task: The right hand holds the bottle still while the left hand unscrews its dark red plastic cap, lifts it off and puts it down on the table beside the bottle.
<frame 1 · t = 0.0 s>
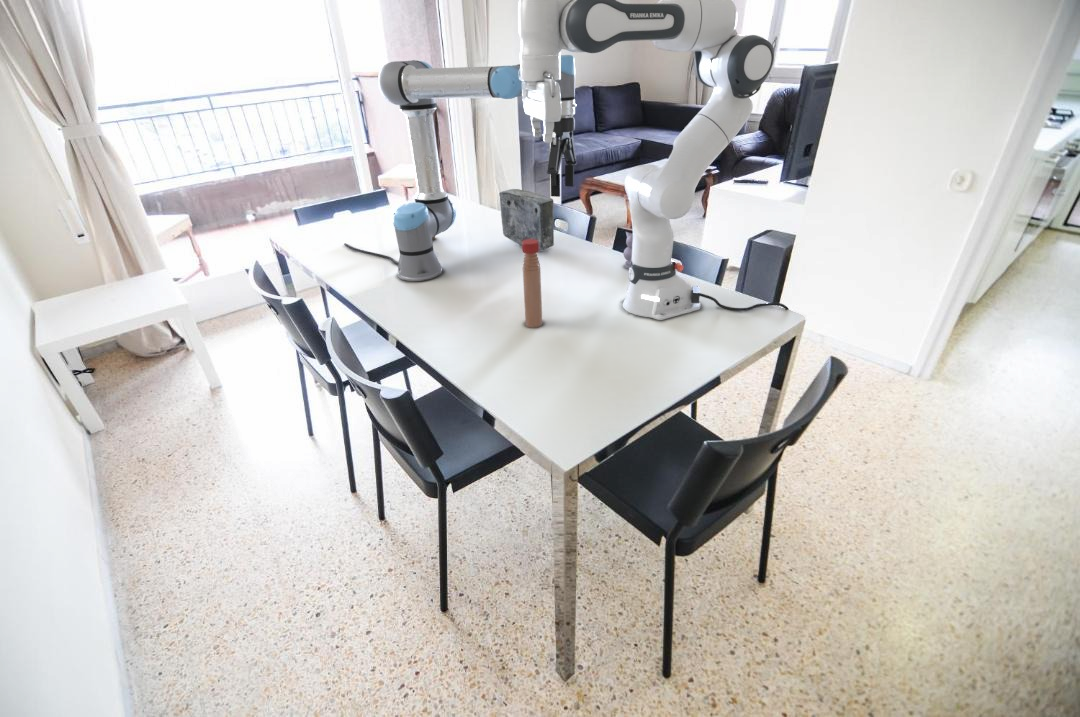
left hand: (562, 191, 156), 28 cm above the table, tool pointing down, fingers open, 13 cm apart
right hand: (542, 139, 116), 48 cm above the table, tool pointing down, fingers open, 8 cm apart
cap: (530, 242, 128), point 24 cm above the table, screwed on, not yet turned
cat figurine: (634, 267, 175), on the table
bottle: (534, 323, 141), on the table
concrete block: (529, 246, 197), on the table
seal figurine: (422, 241, 207), on the table
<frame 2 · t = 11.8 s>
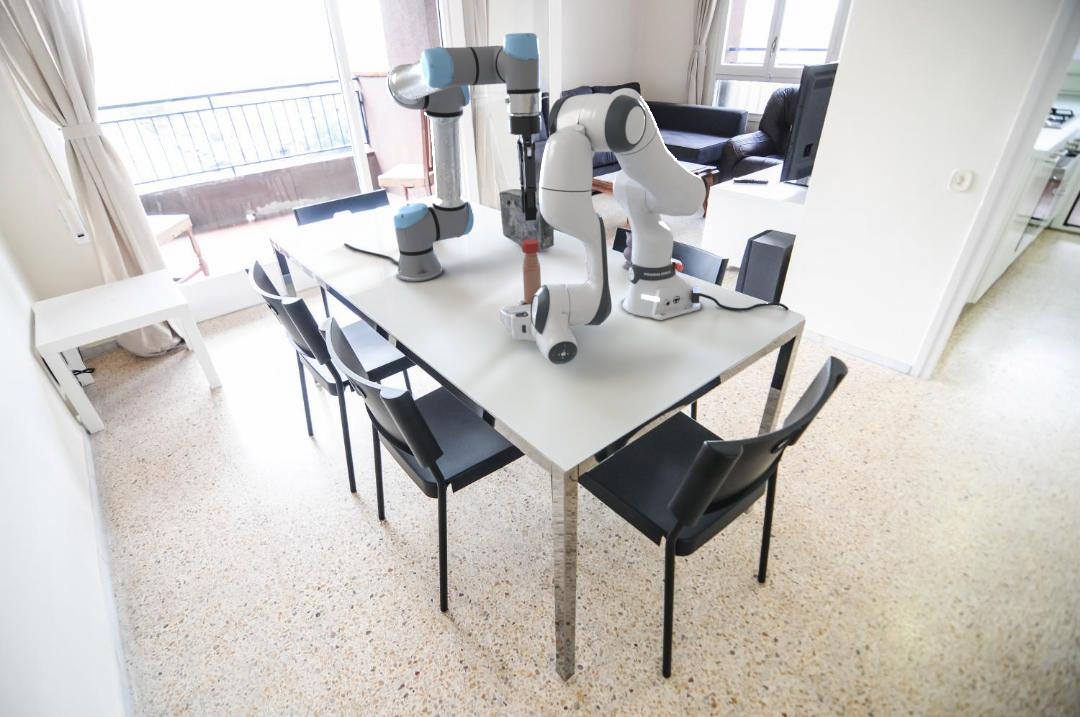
left hand: (529, 215, 125), 31 cm above the table, tool pointing down, fingers open, 6 cm apart
right hand: (532, 301, 138), 7 cm above the table, tool horizontal, fingers closed on bottle, 5 cm apart
bottle: (534, 323, 141), on the table, touching right hand
everything else where it was.
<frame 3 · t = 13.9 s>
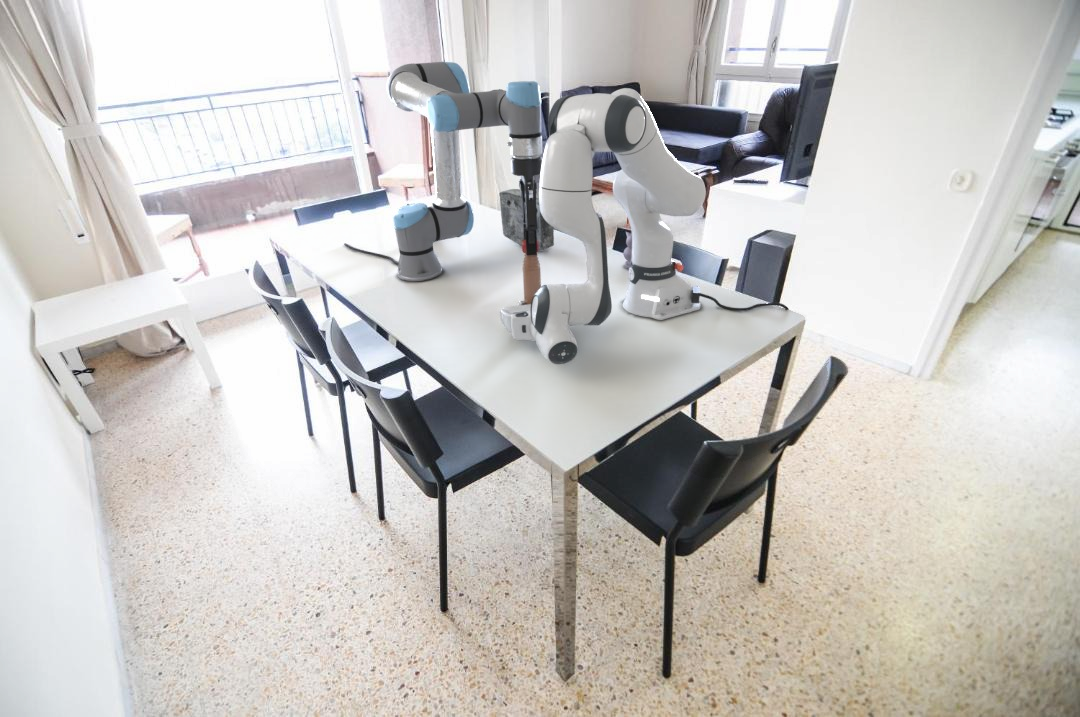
left hand: (530, 251, 129), 21 cm above the table, tool pointing down, fingers closed on cap, 4 cm apart
right hand: (532, 301, 138), 7 cm above the table, tool horizontal, fingers closed on bottle, 5 cm apart
cap: (530, 242, 128), point 24 cm above the table, screwed on, not yet turned, touching left hand
bottle: (534, 323, 141), on the table, touching right hand
everything else where it was.
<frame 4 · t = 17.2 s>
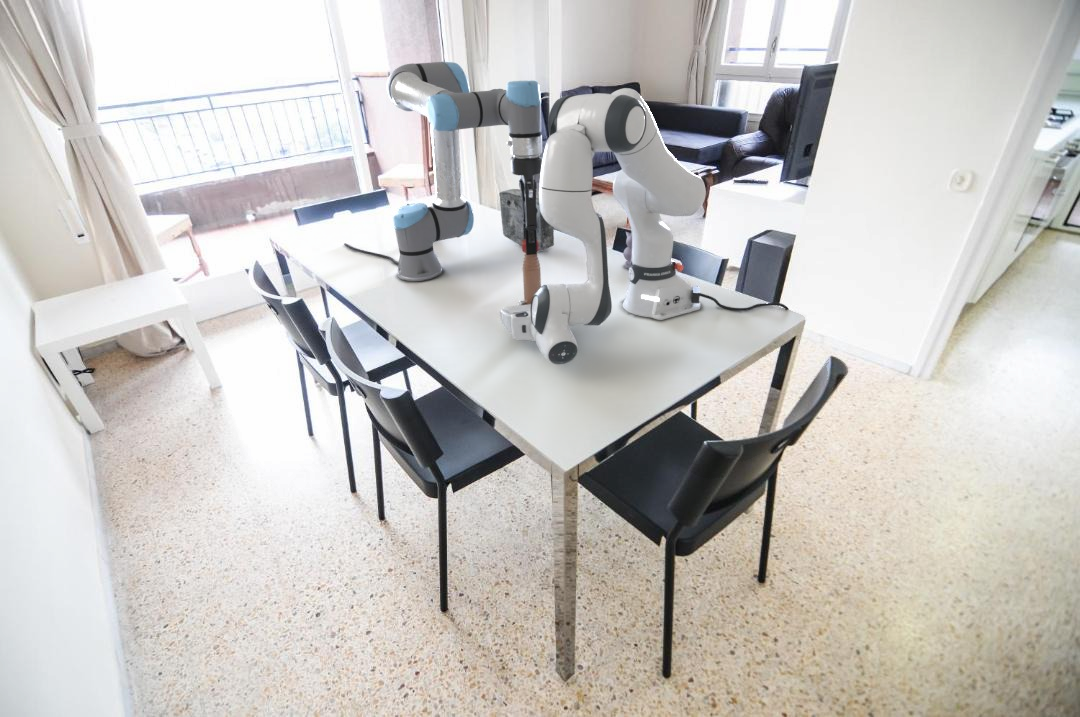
left hand: (530, 250, 129), 21 cm above the table, tool pointing down, fingers closed on cap, 4 cm apart
right hand: (532, 301, 138), 7 cm above the table, tool horizontal, fingers closed on bottle, 5 cm apart
cap: (530, 242, 128), point 24 cm above the table, turned 106° so far, risen 0.1 cm, still on its thread, touching left hand
bottle: (534, 323, 141), on the table, touching right hand
everything else where it was.
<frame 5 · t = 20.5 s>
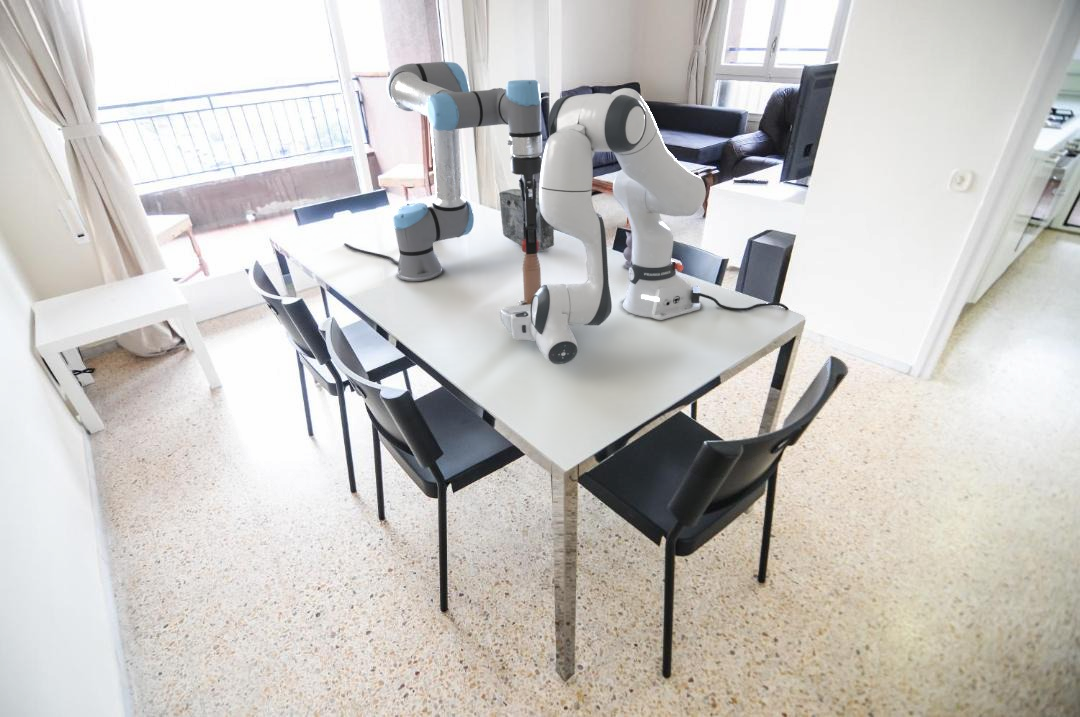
left hand: (530, 250, 129), 22 cm above the table, tool pointing down, fingers closed on cap, 4 cm apart
right hand: (532, 301, 138), 7 cm above the table, tool horizontal, fingers closed on bottle, 5 cm apart
cap: (530, 241, 128), point 24 cm above the table, turned 213° so far, risen 0.2 cm, still on its thread, touching left hand
bottle: (534, 323, 141), on the table, touching right hand
everything else where it was.
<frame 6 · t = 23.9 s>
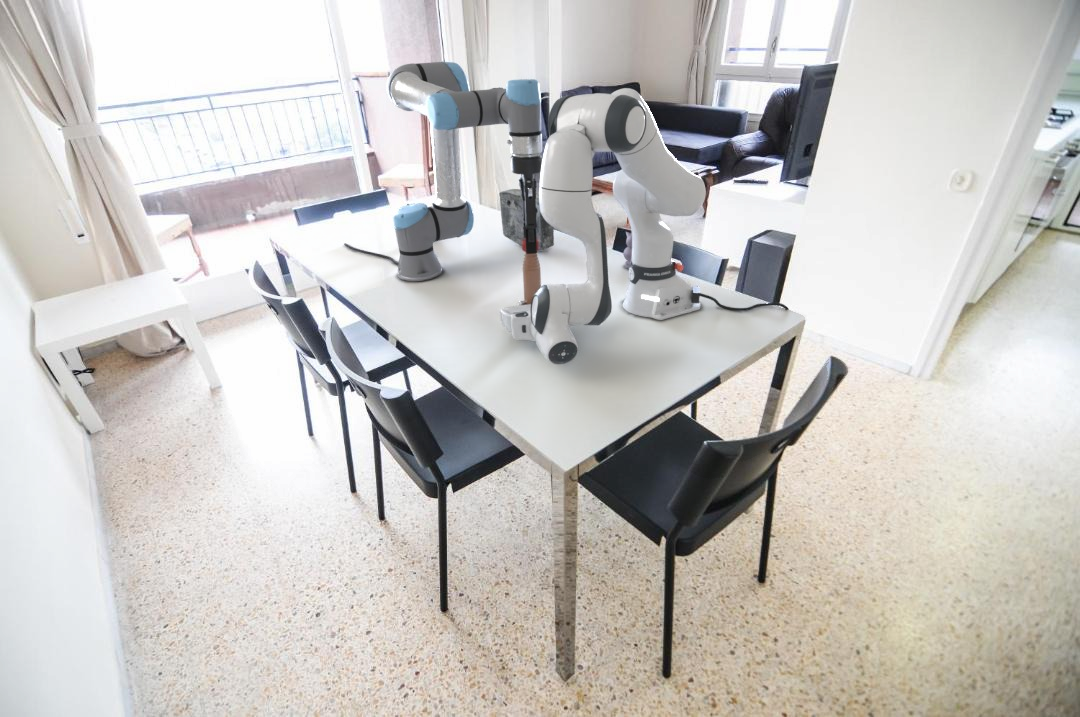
left hand: (530, 249, 129), 22 cm above the table, tool pointing down, fingers closed on cap, 4 cm apart
right hand: (532, 301, 138), 7 cm above the table, tool horizontal, fingers closed on bottle, 5 cm apart
cap: (530, 241, 128), point 24 cm above the table, turned 319° so far, risen 0.4 cm, still on its thread, touching left hand
bottle: (534, 323, 141), on the table, touching right hand
everything else where it was.
when the left hand's fingers open (1 cm above the table, at t = 31.6 s): cap drops 2 cm, point 2 cm above the table.
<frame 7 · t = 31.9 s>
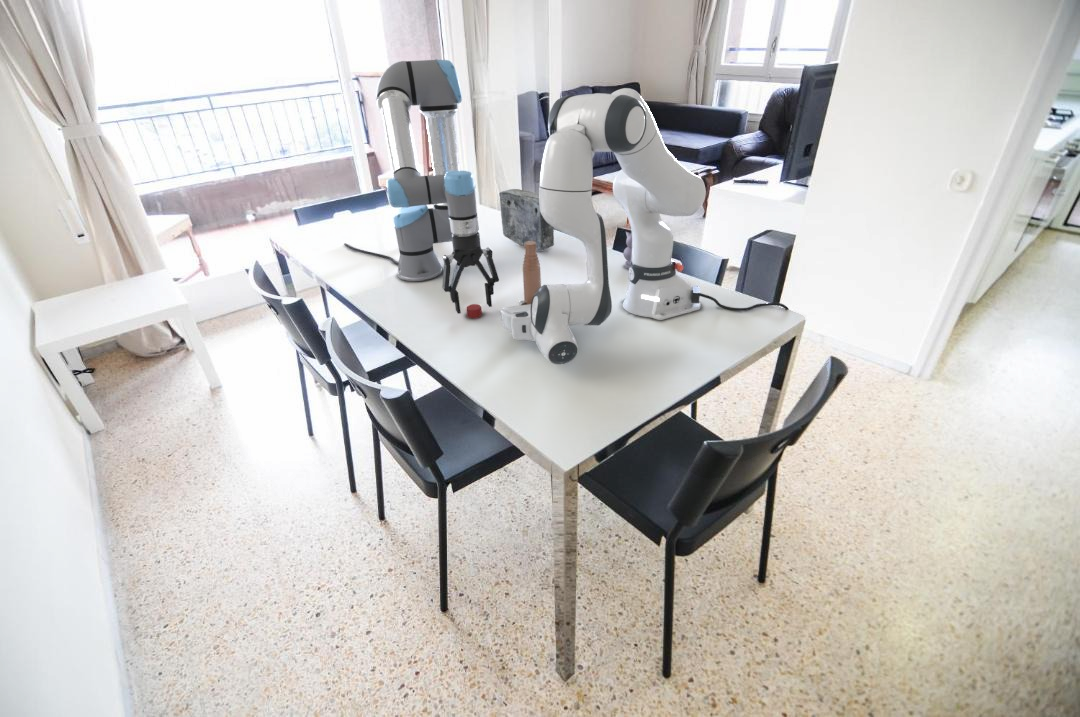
left hand: (473, 308, 145), 2 cm above the table, tool pointing down, fingers open, 9 cm apart
right hand: (532, 301, 138), 7 cm above the table, tool horizontal, fingers closed on bottle, 5 cm apart
cap: (473, 308, 145), point 2 cm above the table, off its thread
bottle: (534, 323, 141), on the table, touching right hand
everything else where it was.
when the right hand's fingers open (7 cm above the table, at t = 32.9 s): bottle stays where it is, on the table.
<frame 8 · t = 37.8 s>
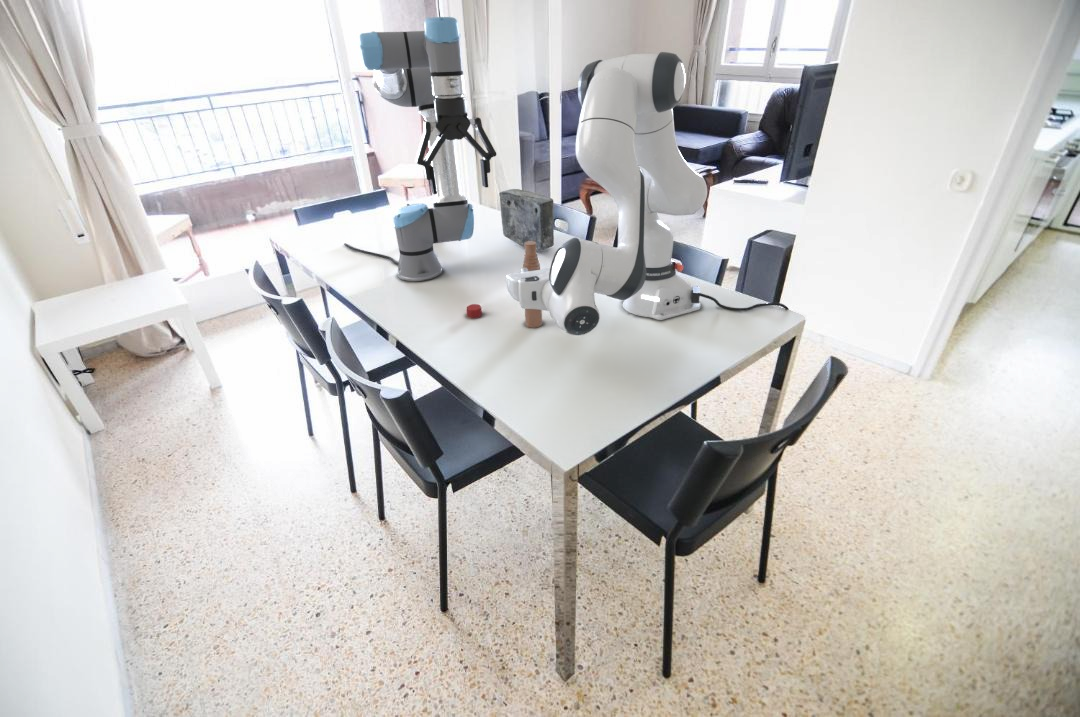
left hand: (460, 189, 128), 36 cm above the table, tool pointing down, fingers open, 13 cm apart
right hand: (542, 268, 120), 21 cm above the table, tool horizontal, fingers open, 8 cm apart
bottle: (534, 323, 141), on the table
everything else where it was.
at the end: cap came off its thread; cap point 2.3 cm above the table; the left hand is holding nothing; the right hand is holding nothing; bottle tilted 0°; bottle moved 0.0 cm from its start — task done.
